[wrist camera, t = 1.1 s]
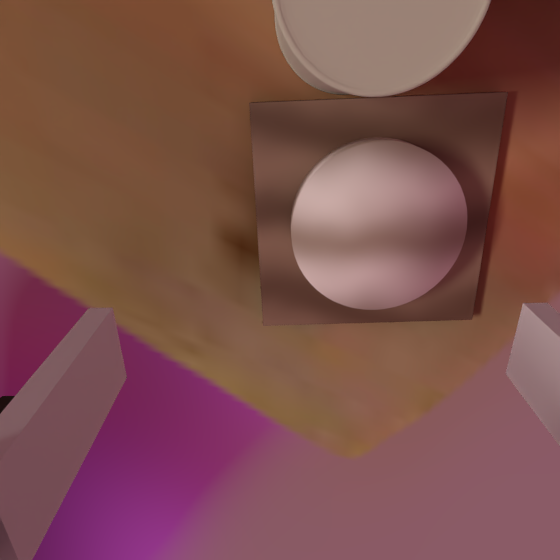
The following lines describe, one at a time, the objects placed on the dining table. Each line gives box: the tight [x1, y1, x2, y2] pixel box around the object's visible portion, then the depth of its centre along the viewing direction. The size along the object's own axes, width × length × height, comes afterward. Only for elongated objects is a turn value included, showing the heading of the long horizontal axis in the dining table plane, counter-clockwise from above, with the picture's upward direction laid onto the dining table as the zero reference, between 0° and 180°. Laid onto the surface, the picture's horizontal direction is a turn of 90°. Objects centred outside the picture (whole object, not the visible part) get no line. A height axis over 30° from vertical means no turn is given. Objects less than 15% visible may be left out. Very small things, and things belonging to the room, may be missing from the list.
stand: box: [249, 92, 508, 326], centre depth 32 cm, size 17×17×4 cm
